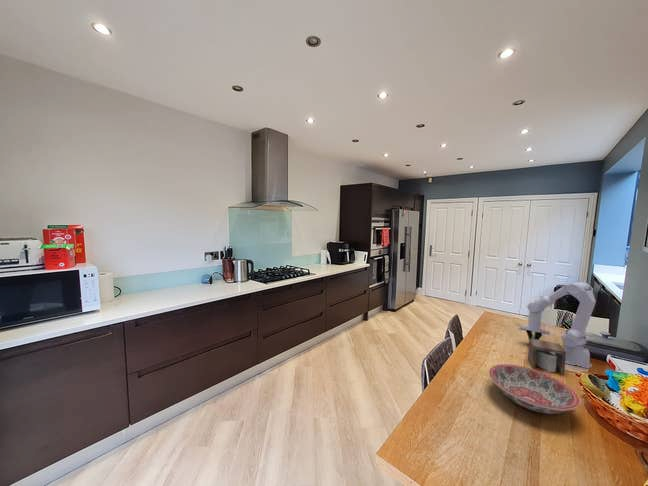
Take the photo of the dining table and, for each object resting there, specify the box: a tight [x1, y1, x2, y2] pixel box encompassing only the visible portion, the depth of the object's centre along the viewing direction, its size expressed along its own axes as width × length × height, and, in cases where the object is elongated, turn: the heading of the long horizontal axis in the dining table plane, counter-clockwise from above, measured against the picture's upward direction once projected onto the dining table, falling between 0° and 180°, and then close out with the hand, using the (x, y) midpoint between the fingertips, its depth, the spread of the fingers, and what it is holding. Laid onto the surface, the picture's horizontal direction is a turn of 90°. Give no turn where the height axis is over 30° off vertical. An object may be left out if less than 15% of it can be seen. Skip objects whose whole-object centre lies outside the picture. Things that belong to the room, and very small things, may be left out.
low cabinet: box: [527, 337, 566, 376], centre depth 131 cm, size 12×10×12 cm
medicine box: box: [535, 349, 557, 373], centre depth 130 cm, size 8×4×9 cm, turn 5°
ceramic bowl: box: [488, 363, 581, 415], centre depth 105 cm, size 29×29×8 cm
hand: (532, 343), depth 154 cm, fingers closed
